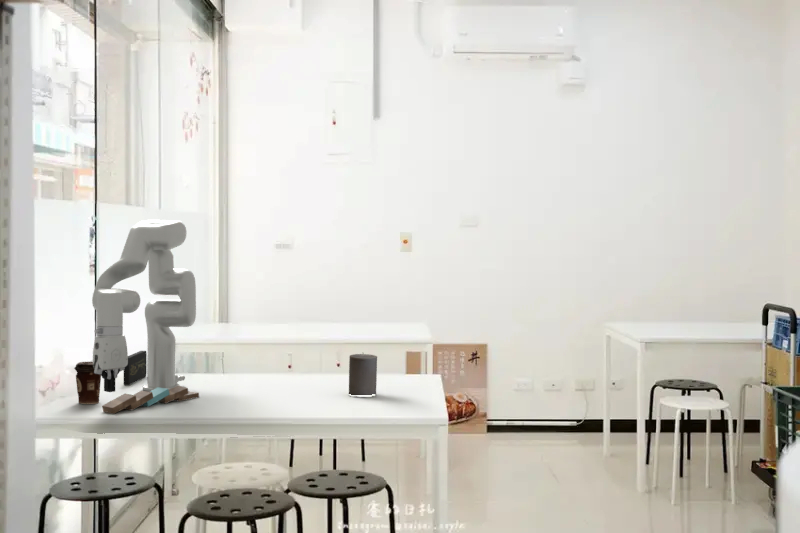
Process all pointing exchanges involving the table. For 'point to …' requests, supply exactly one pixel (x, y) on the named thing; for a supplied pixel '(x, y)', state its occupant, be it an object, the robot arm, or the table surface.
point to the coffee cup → (87, 383)
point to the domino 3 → (175, 394)
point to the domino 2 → (157, 395)
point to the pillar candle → (362, 374)
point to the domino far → (119, 403)
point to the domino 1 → (140, 399)
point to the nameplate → (135, 367)
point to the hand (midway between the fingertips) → (109, 391)
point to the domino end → (188, 396)
